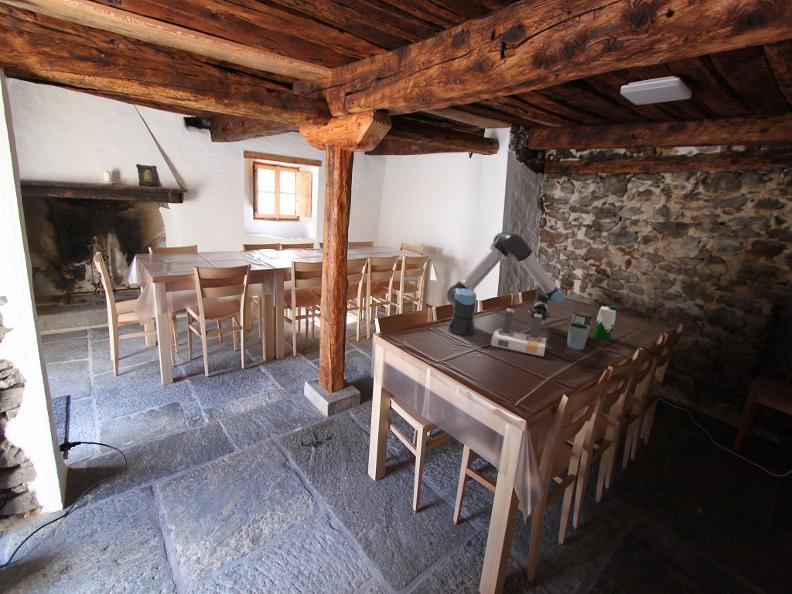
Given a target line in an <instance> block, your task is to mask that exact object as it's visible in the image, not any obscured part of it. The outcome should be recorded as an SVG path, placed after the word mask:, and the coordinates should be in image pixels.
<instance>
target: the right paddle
mask: <svg viewBox="0 0 792 594" xmlns="http://www.w3.org/2000/svg"><path fill="white" fill-rule="evenodd" d="M542 320H543V319H542V315H540V314H535V313H534V317H533V318H532V325H531V329H530V333H529V334H530V337H533V338H538V337H539V336H540V329H541V325H542Z"/></svg>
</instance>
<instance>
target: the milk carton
mask: <svg viewBox="0 0 792 594" xmlns="http://www.w3.org/2000/svg"><path fill="white" fill-rule="evenodd" d="M617 312H618V305H614V304H609V307H608V306H604V305H602V306H601V307H600V309H599V312H598V314H597V319H596V323H595V326H594V327H595V328H594V339H597V338H598V340H601V339H603V340H602V341H606V340H607V342H609V341H610V339H611V336H612V333H613V331H614V326H615V322H616V316H617Z"/></svg>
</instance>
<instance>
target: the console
mask: <svg viewBox="0 0 792 594" xmlns="http://www.w3.org/2000/svg"><path fill="white" fill-rule="evenodd" d="M530 334H531V333H522V332H521V333H520V332H516V331H514V330H511V332H510V333H508V332H503V328H496V329H495V331H494V332H493V334H492V336H491V341H490V345H491V346H492V347H496V348H497V347H498V348H501V349H506V350H511V351H515V352H516V351H517V352H521V353H525V354H530V355H534V356H535V355H536V356H540V357H544V355H545V349H546V343H547V338H546V337H543V336H540V335H539V336H538V338H533V337H530Z"/></svg>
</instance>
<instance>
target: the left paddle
mask: <svg viewBox="0 0 792 594" xmlns="http://www.w3.org/2000/svg"><path fill="white" fill-rule="evenodd" d="M514 316H515V309H512V308H506V312H505V316H504V321H503V327H502V330H503V332H508V333H510V332H511V331H512V327H513V321H514Z"/></svg>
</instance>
